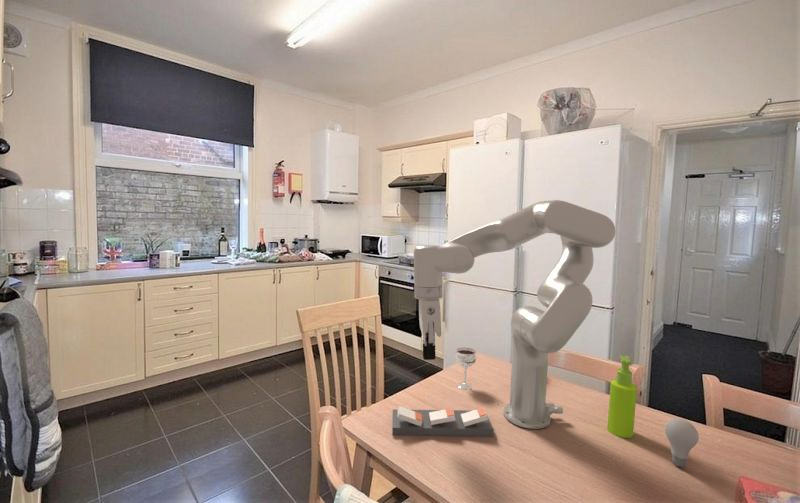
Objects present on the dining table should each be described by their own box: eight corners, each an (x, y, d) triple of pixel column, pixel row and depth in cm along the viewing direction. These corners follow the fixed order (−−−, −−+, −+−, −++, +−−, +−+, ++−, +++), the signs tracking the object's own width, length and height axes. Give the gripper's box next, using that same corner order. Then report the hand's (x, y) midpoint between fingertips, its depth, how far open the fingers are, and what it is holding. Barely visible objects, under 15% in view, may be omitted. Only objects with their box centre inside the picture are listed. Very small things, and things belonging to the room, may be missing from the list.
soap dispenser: (630, 426, 100) (636, 355, 98) (634, 440, 94) (640, 364, 92) (606, 421, 103) (611, 352, 101) (608, 434, 96) (614, 360, 95)
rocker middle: (453, 412, 98) (452, 407, 98) (455, 420, 94) (454, 415, 94) (429, 416, 98) (428, 411, 98) (431, 425, 95) (430, 420, 94)
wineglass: (452, 381, 126) (453, 347, 125) (471, 381, 126) (472, 347, 125) (457, 390, 119) (458, 355, 118) (477, 390, 120) (479, 354, 119)
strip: (484, 417, 103) (485, 408, 103) (493, 436, 94) (493, 426, 94) (392, 416, 103) (392, 407, 103) (392, 435, 94) (392, 425, 94)
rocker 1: (419, 418, 98) (421, 413, 98) (420, 426, 95) (422, 421, 94) (397, 409, 98) (399, 405, 98) (397, 417, 94) (399, 413, 94)
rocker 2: (484, 411, 99) (483, 406, 98) (488, 419, 95) (486, 414, 94) (461, 418, 99) (460, 413, 99) (464, 426, 95) (463, 421, 95)
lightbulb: (684, 478, 80) (689, 430, 79) (656, 460, 86) (660, 416, 85) (701, 470, 83) (706, 424, 82) (672, 454, 88) (676, 411, 87)
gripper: (447, 297, 90) (447, 369, 92) (438, 286, 105) (438, 348, 107) (416, 298, 90) (417, 370, 92) (412, 286, 105) (413, 349, 106)
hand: (429, 358), depth 99 cm, fingers closed
